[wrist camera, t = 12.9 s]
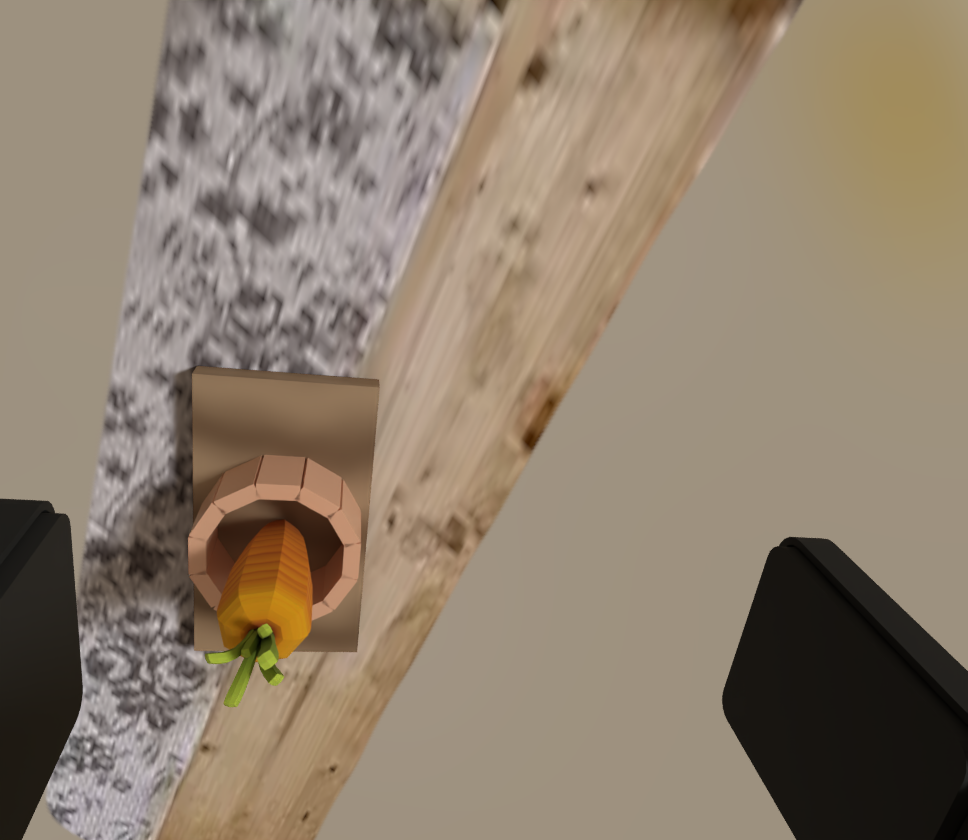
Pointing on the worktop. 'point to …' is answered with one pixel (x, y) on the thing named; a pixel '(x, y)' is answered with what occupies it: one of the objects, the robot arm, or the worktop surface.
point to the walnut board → (284, 432)
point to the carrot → (265, 605)
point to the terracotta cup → (278, 483)
